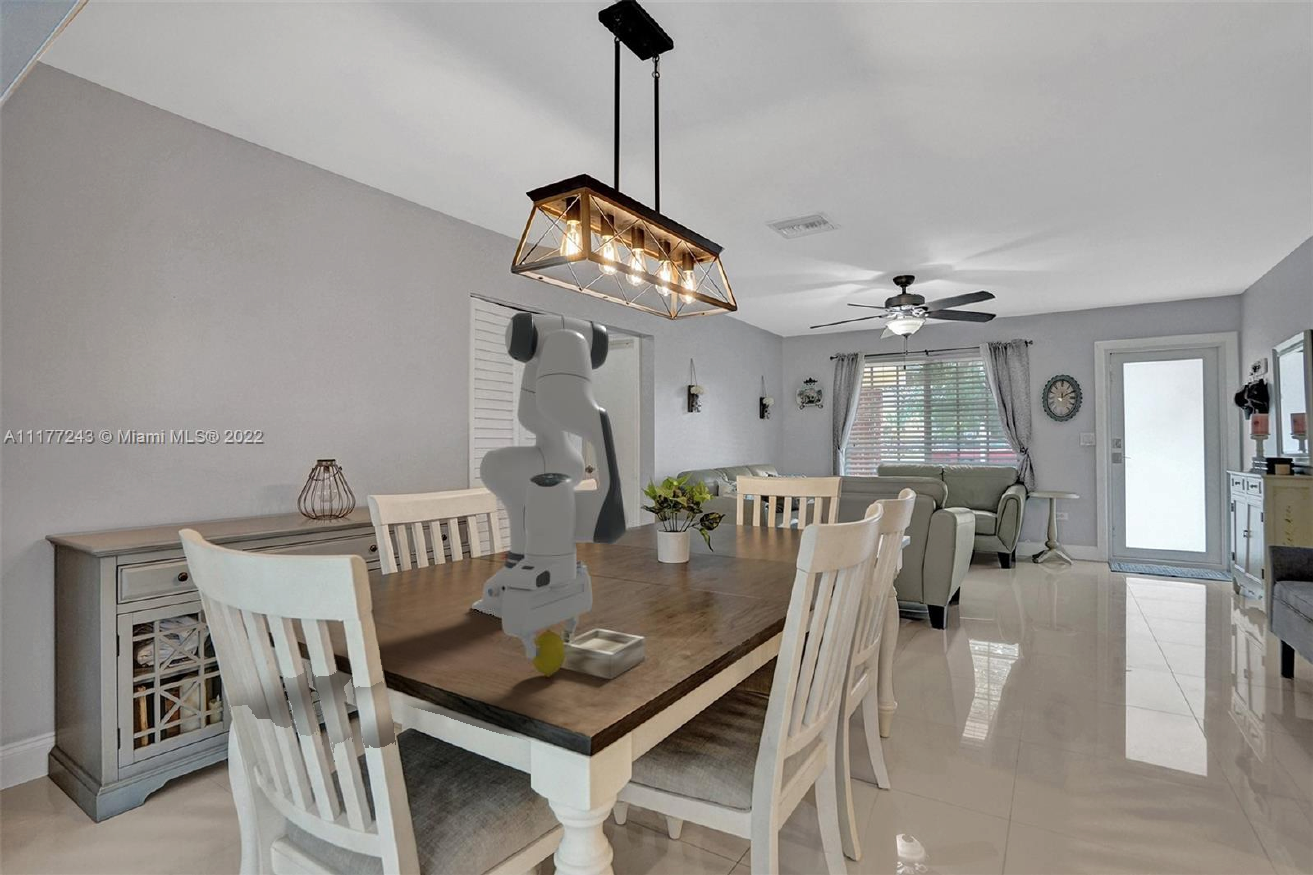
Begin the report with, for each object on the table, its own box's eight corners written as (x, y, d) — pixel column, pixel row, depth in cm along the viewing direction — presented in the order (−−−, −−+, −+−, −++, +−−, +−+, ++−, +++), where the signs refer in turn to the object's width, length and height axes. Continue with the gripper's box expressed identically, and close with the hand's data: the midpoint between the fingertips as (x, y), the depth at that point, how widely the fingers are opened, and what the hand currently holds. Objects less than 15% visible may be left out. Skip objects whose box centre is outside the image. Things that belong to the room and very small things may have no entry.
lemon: (566, 670, 112) (566, 625, 112) (562, 682, 106) (562, 635, 106) (534, 671, 112) (534, 625, 112) (529, 683, 106) (529, 635, 106)
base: (560, 667, 114) (560, 643, 114) (596, 649, 123) (596, 628, 123) (611, 679, 108) (611, 654, 108) (644, 659, 117) (644, 637, 117)
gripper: (572, 557, 120) (573, 631, 120) (495, 577, 102) (495, 664, 102) (600, 560, 117) (600, 635, 116) (525, 581, 99) (525, 670, 99)
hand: (550, 649), depth 109 cm, fingers open, 8 cm apart
